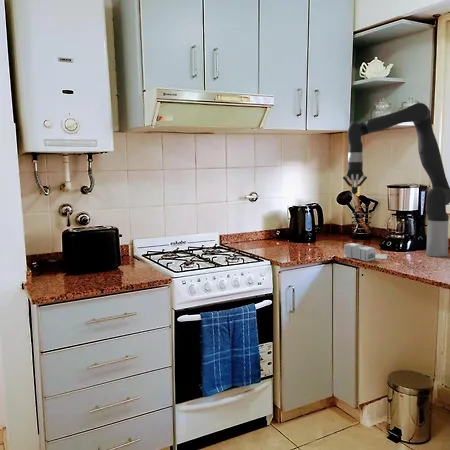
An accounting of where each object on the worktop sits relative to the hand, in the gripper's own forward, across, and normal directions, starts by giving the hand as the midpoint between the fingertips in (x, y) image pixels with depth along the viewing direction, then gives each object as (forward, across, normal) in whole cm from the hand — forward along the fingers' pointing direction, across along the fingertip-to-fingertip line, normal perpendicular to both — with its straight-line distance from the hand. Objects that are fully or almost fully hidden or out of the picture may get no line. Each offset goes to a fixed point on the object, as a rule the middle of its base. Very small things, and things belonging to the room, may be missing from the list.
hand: (354, 194), depth 251 cm
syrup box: (+25, +1, +26) cm, 36 cm away
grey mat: (+29, -7, +24) cm, 38 cm away
